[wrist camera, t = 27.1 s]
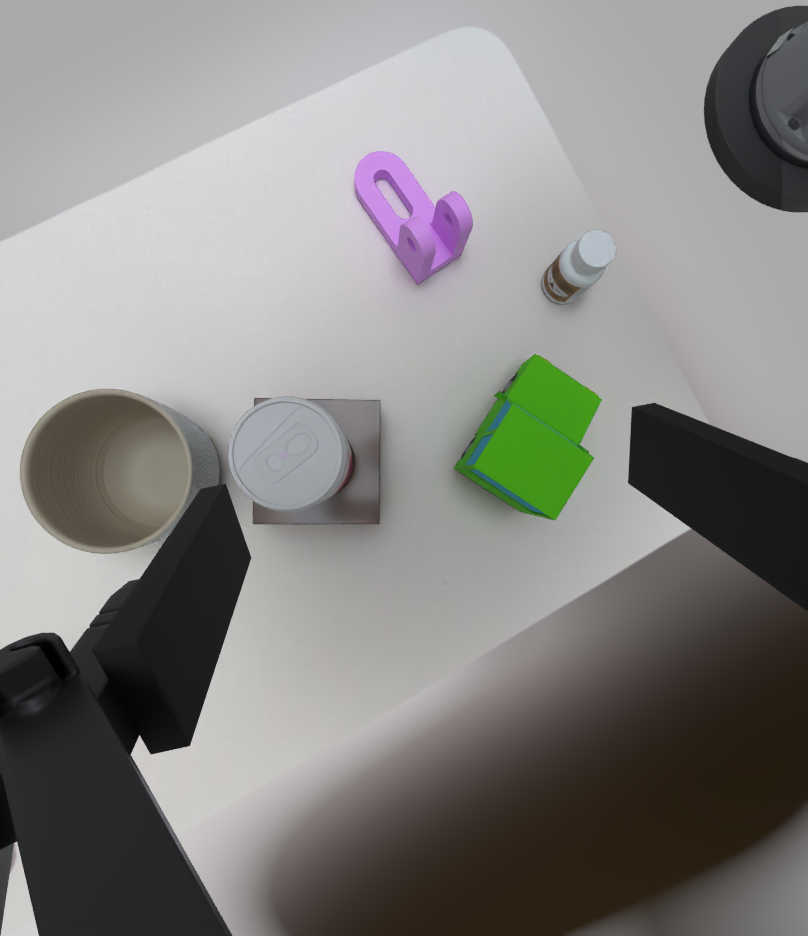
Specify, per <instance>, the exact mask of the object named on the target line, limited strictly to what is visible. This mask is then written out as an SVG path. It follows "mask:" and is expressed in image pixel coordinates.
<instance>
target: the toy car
mask: <svg viewBox="0 0 808 936" xmlns="http://www.w3.org/2000/svg"><path fill="white" fill-rule="evenodd" d="M494 396H495V397H497V398H498V400H497V401H496V403H495V404H494V406H493V407H492V409H491V410H490V412H489V414H488V415H487V417H486V418H485V420H484V421H483V423H482V425H481V426H480V428H479V429H478V431H477V432H476V434H475V435H476V437H475V438H474V439H473V440H472V441H471V442H470V444H469V445H468V447H467V448H466V450H465V451H464V453H463V455H462V457H461V459H460V460H458V462H457V464H456V465H455V467H454V469H456V470H457V471H459V472H460V473H462V474H463V475H465V476H466V477H468V478H469V479H471V480H472V481H474V482H476V483H477V484H479V485H480V486H482V487H483V488H485V489H486V490H488V491H489V492H491V493H492V494H494V495H495V496H497V497H498V498H500V499H501V500H503V501H505V502H506V503H508V504H509V505H511V506H512V507H514V508H515V509H517V510H518V511H520V512H523V513H527V514H531V515H535V516H540V517H544V518H548V519H552V520H556V518H557V517H558V515H559V514H560V512H561V510H562V509H563V507H564V506H565V504H566V502H567V501H568V499H569V498H570V496H571V494H572V493H573V491H574V489H575V488H576V486H577V485H578V483H579V481H580V480H581V478H582V477H583V475H584V473H585V472H586V470H587V469H588V467H589V465H590V464H591V462H592V461H593V459H594V458H593V457H592V456H591V455H590V454H589V451H587V450H586V449H585V448H583V447H582V446H581V445H580V442H581V440H582V438H583V436H584V434H585V432H586V430H587V428H588V426H589V424H590V422H591V420H592V418H593V416H594V414H595V412H596V410H597V408H598V406H599V404H600V402H601V400H602V399H600V398H599V396H598V395H596V393H594V392H593V391H591V390H590V389H588V388H587V387H584V386H583V385H581V384H580V383H578V382H577V381H575V380H574V379H573V378H571V377H570V376H568V375H567V374H565V373H564V372H562V371H561V370H559V369H558V368H556V367H555V366H553V365H552V364H551V363H550V362H549V361H547V360H546V359H544V358H543V357H541V356H539V355H536V354H535V355H533V356H532V357H531V358H529V359H528V360H527V361H526V362H524V363H523V364H522V365H521V367H520V368H519V370H518V371H517V373H516V375H515V376H514V377H513V378H512V379H511V380H510V382H509V383H508V384H507V386H506V387H505V389H504V390H503V392H502V393H501V392H498V393H497V394H496V395H494Z"/></svg>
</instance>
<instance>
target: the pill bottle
mask: <svg viewBox="0 0 808 936" xmlns="http://www.w3.org/2000/svg"><path fill="white" fill-rule="evenodd" d="M615 252H616V247H615V243H614V240H613V239H612V237H611V236H610V235H609V234H608V233H606V232H604V231H602V230H591V231H588V232H587V233H585V234H584V235H583V236H582V237H581V238H580V239H579V240H576V241H574V242H572V243H570V244H569V245H568V246H567V247H566V248H565V249H564V250H563V251H562V252H561V254H560V255H559V256H558V257H557V258H556V259H555V261H554V262H553V263H552V264H551V265H550V266H549V268H548V269H547V270H546V271H545V273H544V275H543V279H542V287H543V290H544V292H545V294H546V296H547V297H548V298H549V299H550V300H551V301H553V302H555V303H559V304H567V303H570V302H572V301H574V300H575V299H577V298H578V297H579V296H580V295H581V294H583V293H584V292H585V291H586V290H587V289H588V288H590V287H591V286H592V285H593V284H594V283H595V282H597V281H598V280H599V279H600V277H601V276H602V275H603V273H604V271H605V268H606V266H607V265H608V264H609V263H610V262H611V261H612V260H613V258H614V256H615Z"/></svg>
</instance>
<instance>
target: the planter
mask: <svg viewBox="0 0 808 936" xmlns="http://www.w3.org/2000/svg"><path fill="white" fill-rule="evenodd" d="M219 477H220V466H219V460H218V456H217V453H216V450H215V448H214V446H213V444H212V442H211V440H210V439H209V438H208V436H207V435H206V434H205V433H204V431H203V430H202V429H201V428H199V427H198V426H197V425H196V424H195V423H193V422H192V421H191V420H189V419H188V418H186V417H185V416H183V415H182V414H180V413H178V412H176V411H174V410H172V409H171V408H169V407H167V406H165V405H163V404H161V403H159V402H156V401H154V400H152V399H150V398H147V397H144V396H142V395H139V394H136V393H132V392H128V391H124V390H117V389H97V390H90V391H86V392H82V393H79V394H76V395H73V396H71V397H69V398H67V399H65V400H63V401H61V402H60V403H58V404H57V405H55V406H54V407H52V408H51V409H50V410H49V411H48V412H46V413H45V414H44V415H43V416H42V417H41V419H40V420H39V421H38V422H37V423H36V425H35V426H34V428H33V429H32V431H31V433H30V434H29V436H28V438H27V441H26V443H25V446H24V449H23V452H22V457H21V463H20V481H21V487H22V492H23V495H24V498H25V501H26V503H27V506H28V508H29V510H30V511H31V513H32V515H33V516H34V518H35V519H36V520H37V522H38V523H39V524H40V525H41V526H42V527H43V528H44V529H45V530H46V531H47V532H48V533H49V534H50V535H52V536H53V537H54V538H56V539H57V540H59V541H61V542H62V543H64V544H66V545H68V546H71V547H73V548H76V549H79V550H82V551H86V552H91V553H102V554H109V553H119V552H125V551H129V550H133V549H136V548H139V547H142V546H145V545H148V544H150V543H153V542H155V541H157V540H160V539H162V538H164V537H166V536H168V535H170V533H171V532H172V530H173V529H174V528H175V526H176V525H177V523H178V522H179V520H180V519H181V517H182V516H183V514H184V513H185V511H186V510H187V508H188V507H189V505H190V504H191V502H192V501H193V499H194V498H195V496H196V495H197V493H198V492H199V490H200V489H201V488H207V487H212V486H217V485H218V483H219Z"/></svg>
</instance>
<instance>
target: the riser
mask: <svg viewBox="0 0 808 936" xmlns="http://www.w3.org/2000/svg"><path fill="white" fill-rule="evenodd" d="M269 399H273V398H254V406H256V405H258V404H260V403H262V402H264V401H266V400H269ZM306 400H309V401H311V402H314V403H315V404H317V405H319V406H321V407H322V408H323V409H325V410H326V411H327V412H328V413H329V414H330V415H331V416H332V417H333V418H334V420H335V421H336V422H337V424H338V425H339V427H340V428H341V430H342V432H343V433H344V435H345V436H346V438H347V439H348V441H349V442H350V444H351V446H352V449H353V452H354V457H355V466H354V471H353V474H352V477H351V479H350V481H349V482H348V484H347V485H346V486H345V487H344V488H343V489H342V490H341V491H340V492H338V493H337V494H335V495H333V496H331V497H330V498H328V499H326V500H324V501H322V502H320V503H318V504H316V505H314V506H312V507H310V508H308V509H304V510H301V511H295V512H280V511H275V510H271V509H268V508H265V507H263V506H261V505H259V504H257V503H255V502H254V501H253V524H379V517H380V400H334V399H306Z"/></svg>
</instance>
